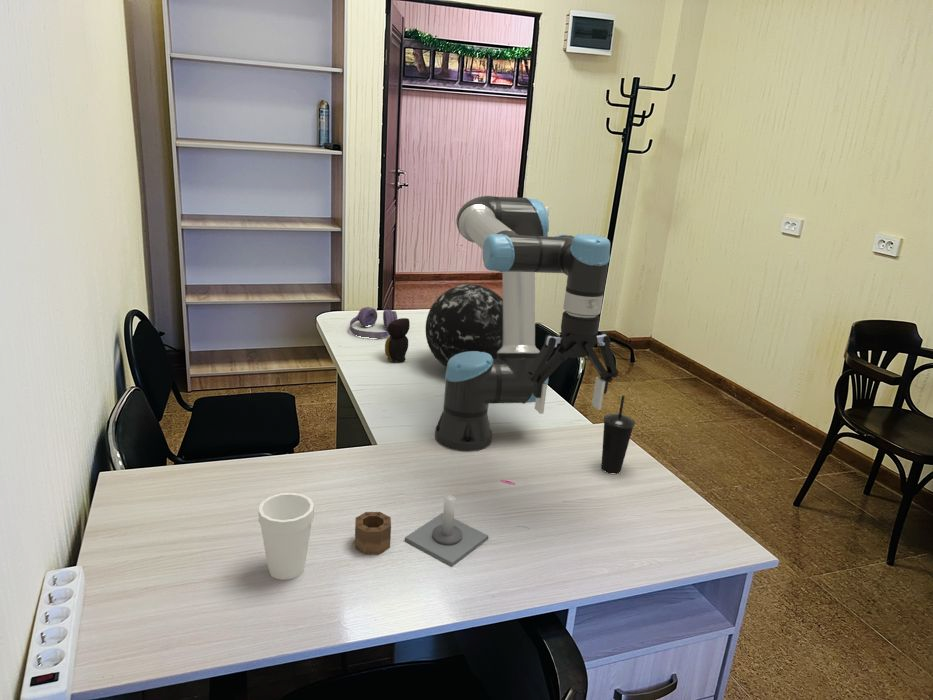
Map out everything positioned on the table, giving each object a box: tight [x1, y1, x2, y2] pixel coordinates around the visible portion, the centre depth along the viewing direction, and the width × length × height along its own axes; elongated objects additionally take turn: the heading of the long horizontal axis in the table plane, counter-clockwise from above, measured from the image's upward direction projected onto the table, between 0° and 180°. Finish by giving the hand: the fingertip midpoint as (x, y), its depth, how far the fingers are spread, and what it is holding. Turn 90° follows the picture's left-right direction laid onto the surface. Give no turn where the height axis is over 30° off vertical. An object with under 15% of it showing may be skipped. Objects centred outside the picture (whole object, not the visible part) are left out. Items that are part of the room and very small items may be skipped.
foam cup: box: [257, 492, 315, 581], centre depth 119 cm, size 10×9×13 cm
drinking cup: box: [601, 395, 636, 475], centre depth 164 cm, size 8×8×20 cm
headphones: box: [349, 306, 398, 339], centre depth 259 cm, size 18×8×20 cm
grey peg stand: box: [404, 494, 489, 567], centre depth 132 cm, size 12×12×10 cm
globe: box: [425, 283, 503, 368], centre depth 222 cm, size 29×30×30 cm
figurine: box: [384, 317, 410, 363], centre depth 229 cm, size 10×7×15 cm
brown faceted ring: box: [354, 511, 392, 555], centre depth 130 cm, size 7×7×5 cm
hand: (568, 409), depth 141 cm, fingers open, 13 cm apart
